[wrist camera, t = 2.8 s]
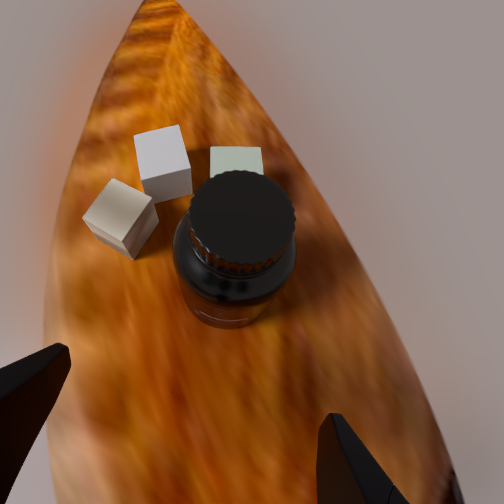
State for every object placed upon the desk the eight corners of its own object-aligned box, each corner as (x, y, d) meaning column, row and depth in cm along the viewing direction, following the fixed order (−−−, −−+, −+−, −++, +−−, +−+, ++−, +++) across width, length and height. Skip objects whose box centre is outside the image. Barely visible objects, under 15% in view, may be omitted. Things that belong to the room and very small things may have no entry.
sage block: (256, 216, 27) (265, 188, 23) (210, 216, 27) (210, 188, 23) (253, 178, 29) (260, 147, 25) (209, 178, 28) (210, 146, 24)
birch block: (133, 260, 25) (121, 241, 21) (97, 239, 25) (82, 217, 21) (159, 222, 26) (152, 197, 22) (123, 203, 26) (112, 177, 23)
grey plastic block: (192, 194, 28) (190, 167, 24) (149, 205, 27) (141, 180, 23) (180, 153, 29) (178, 124, 25) (140, 162, 28) (133, 135, 25)
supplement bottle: (207, 346, 23) (203, 319, 12) (168, 268, 25) (138, 183, 14) (286, 305, 25) (345, 245, 14) (244, 233, 27) (267, 135, 16)
